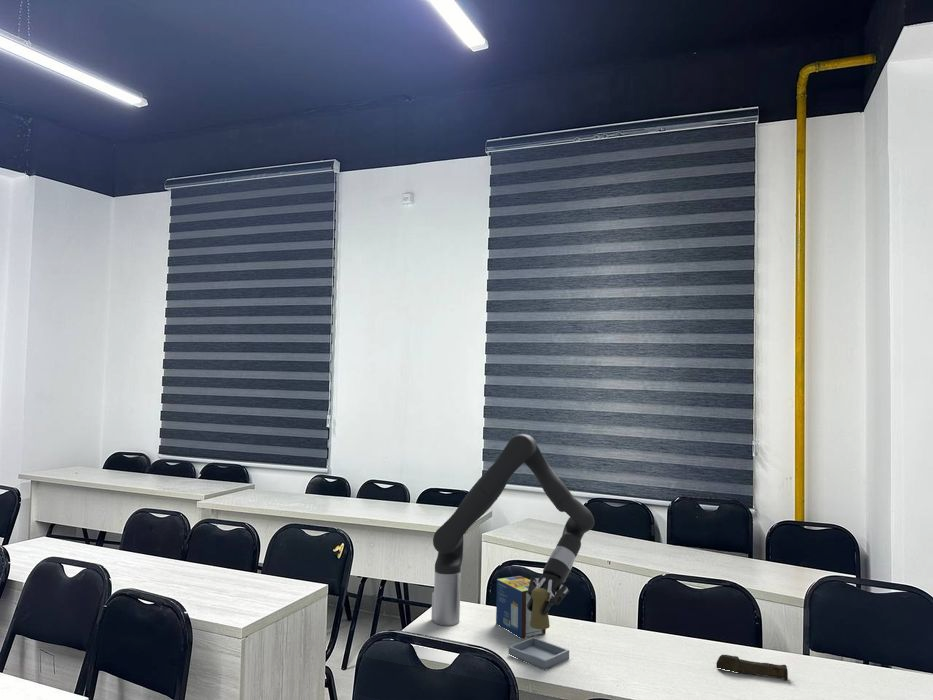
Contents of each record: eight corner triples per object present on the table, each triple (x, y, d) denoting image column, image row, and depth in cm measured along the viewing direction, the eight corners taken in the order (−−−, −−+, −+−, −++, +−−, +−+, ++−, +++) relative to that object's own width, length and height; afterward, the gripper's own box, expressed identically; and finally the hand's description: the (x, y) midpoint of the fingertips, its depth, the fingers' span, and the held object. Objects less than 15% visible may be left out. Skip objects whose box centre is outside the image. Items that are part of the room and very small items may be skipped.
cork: (537, 630, 186) (537, 592, 187) (526, 624, 191) (526, 587, 192) (553, 627, 189) (553, 590, 190) (542, 621, 194) (542, 584, 195)
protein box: (519, 619, 222) (520, 575, 223) (546, 634, 208) (546, 586, 210) (495, 624, 216) (496, 578, 218) (520, 639, 203) (521, 590, 204)
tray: (508, 655, 190) (508, 646, 190) (533, 645, 198) (533, 637, 199) (544, 670, 180) (545, 661, 180) (569, 659, 188) (569, 650, 189)
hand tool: (786, 677, 180) (786, 660, 181) (788, 682, 177) (788, 665, 177) (716, 666, 187) (716, 650, 187) (717, 671, 183) (716, 655, 183)
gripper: (536, 553, 202) (512, 599, 192) (573, 561, 192) (549, 611, 182) (546, 566, 205) (523, 613, 196) (583, 576, 195) (560, 625, 186)
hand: (535, 611), depth 189 cm, fingers closed on cork, 4 cm apart
